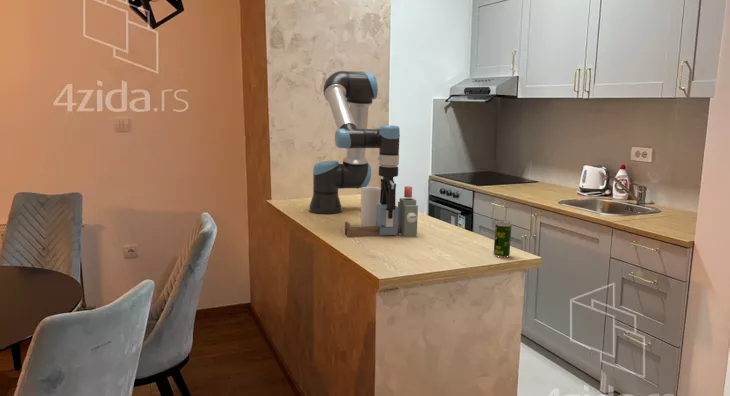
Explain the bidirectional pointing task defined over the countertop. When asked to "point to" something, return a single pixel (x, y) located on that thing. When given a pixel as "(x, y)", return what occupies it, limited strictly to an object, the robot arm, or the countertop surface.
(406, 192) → the plunger
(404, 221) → the grey upright block
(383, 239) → the countertop surface
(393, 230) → the block
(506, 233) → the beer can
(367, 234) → the rail
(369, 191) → the cup
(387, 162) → the robot arm
